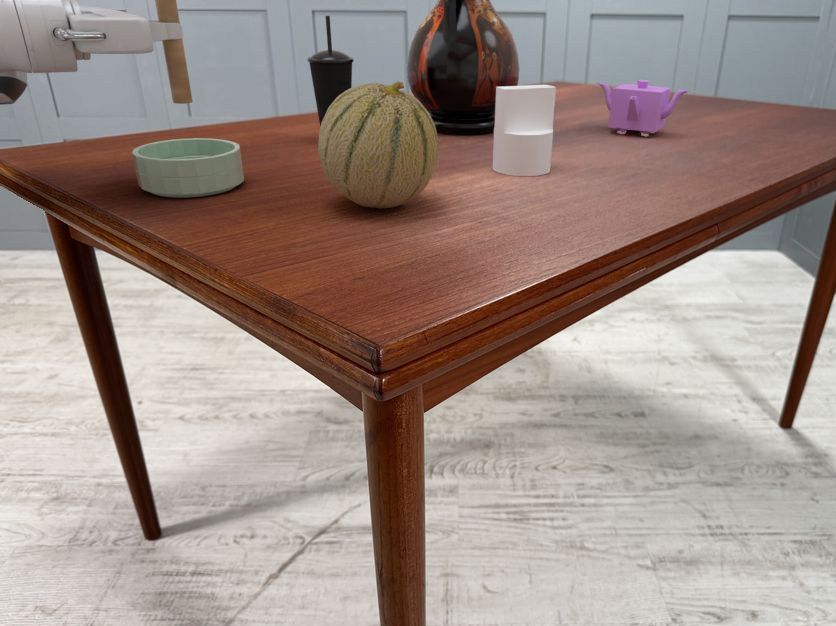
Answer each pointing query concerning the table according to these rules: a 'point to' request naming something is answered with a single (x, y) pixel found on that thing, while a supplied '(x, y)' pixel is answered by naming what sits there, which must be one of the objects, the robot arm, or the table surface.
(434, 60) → the amphora vase
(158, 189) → the bowl
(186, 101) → the stirring stick
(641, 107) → the teapot
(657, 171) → the table surface
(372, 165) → the cantaloupe
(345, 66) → the drinking cup
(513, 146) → the base with upright slab
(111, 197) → the table surface
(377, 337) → the table surface
